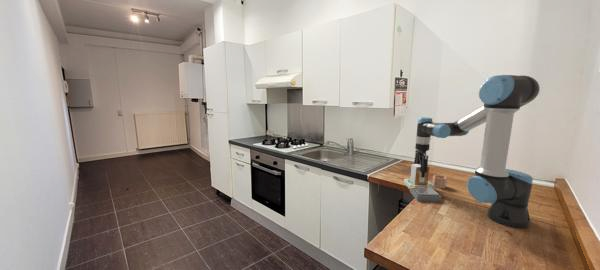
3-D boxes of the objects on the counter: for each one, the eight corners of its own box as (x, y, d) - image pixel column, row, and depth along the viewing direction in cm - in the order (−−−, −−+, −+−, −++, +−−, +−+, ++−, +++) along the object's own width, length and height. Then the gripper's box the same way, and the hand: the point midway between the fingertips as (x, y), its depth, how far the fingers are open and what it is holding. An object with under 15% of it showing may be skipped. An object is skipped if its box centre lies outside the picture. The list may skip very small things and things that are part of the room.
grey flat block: (440, 201, 131) (441, 195, 130) (416, 200, 132) (416, 194, 131) (431, 192, 142) (431, 186, 142) (408, 191, 144) (409, 185, 143)
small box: (414, 187, 148) (416, 167, 146) (409, 183, 154) (411, 163, 152) (427, 187, 148) (429, 166, 146) (422, 183, 155) (424, 163, 152)
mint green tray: (434, 190, 146) (434, 186, 145) (409, 189, 147) (409, 185, 146) (426, 183, 156) (426, 179, 156) (403, 182, 158) (404, 178, 157)
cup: (447, 188, 148) (448, 179, 147) (435, 188, 149) (436, 178, 148) (442, 184, 155) (443, 175, 154) (430, 183, 156) (431, 174, 155)
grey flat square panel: (438, 195, 131) (438, 194, 131) (418, 194, 132) (419, 193, 132) (430, 188, 141) (430, 186, 141) (412, 187, 142) (412, 185, 142)
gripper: (436, 147, 136) (432, 186, 140) (422, 140, 156) (419, 174, 160) (422, 147, 137) (418, 185, 141) (410, 139, 157) (407, 173, 161)
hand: (419, 179), depth 151 cm, fingers open, 7 cm apart
